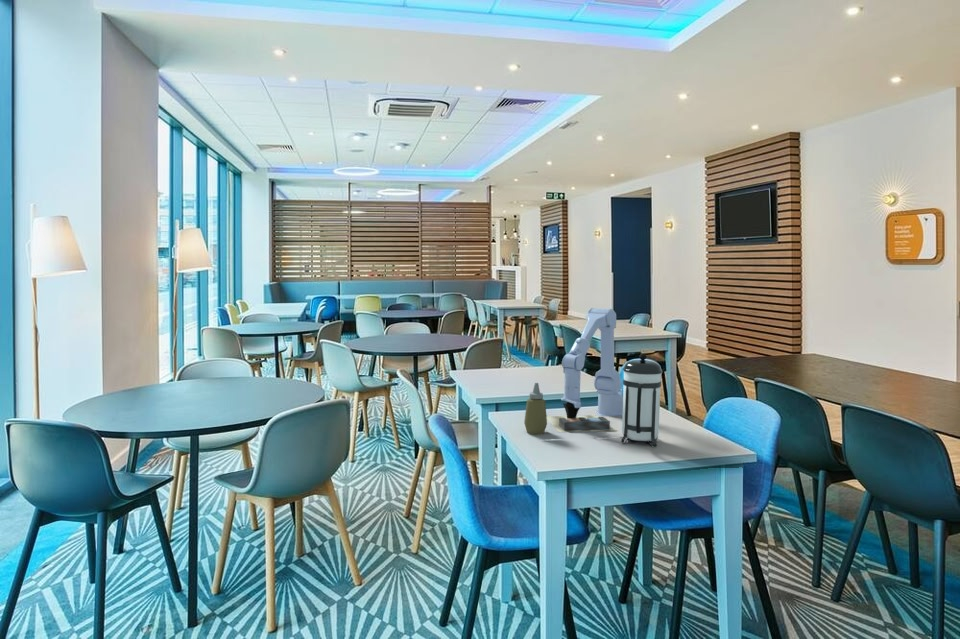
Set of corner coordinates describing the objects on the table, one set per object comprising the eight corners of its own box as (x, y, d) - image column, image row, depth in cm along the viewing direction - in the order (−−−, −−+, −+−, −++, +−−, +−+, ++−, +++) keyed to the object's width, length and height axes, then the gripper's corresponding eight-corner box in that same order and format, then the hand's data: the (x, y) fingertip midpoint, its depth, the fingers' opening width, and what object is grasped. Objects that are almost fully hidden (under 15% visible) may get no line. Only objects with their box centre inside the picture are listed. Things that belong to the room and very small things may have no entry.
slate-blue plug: (597, 425, 208) (597, 417, 208) (600, 428, 204) (601, 420, 204) (586, 425, 208) (586, 417, 208) (590, 428, 204) (590, 420, 204)
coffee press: (606, 437, 195) (608, 351, 193) (644, 433, 201) (647, 350, 199) (636, 451, 179) (639, 358, 177) (677, 447, 185) (681, 356, 182)
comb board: (595, 416, 224) (595, 407, 224) (617, 431, 202) (617, 422, 202) (543, 417, 221) (543, 409, 220) (559, 433, 199) (559, 423, 199)
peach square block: (577, 426, 207) (577, 418, 207) (580, 429, 203) (581, 420, 203) (566, 426, 207) (567, 418, 206) (570, 429, 203) (570, 421, 202)
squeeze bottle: (522, 435, 196) (523, 384, 194) (525, 429, 204) (526, 380, 202) (545, 437, 194) (546, 385, 192) (548, 431, 202) (549, 381, 200)
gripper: (556, 382, 213) (555, 418, 215) (567, 390, 199) (566, 428, 200) (573, 382, 215) (573, 417, 216) (586, 390, 200) (585, 427, 201)
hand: (571, 422), depth 208 cm, fingers closed
